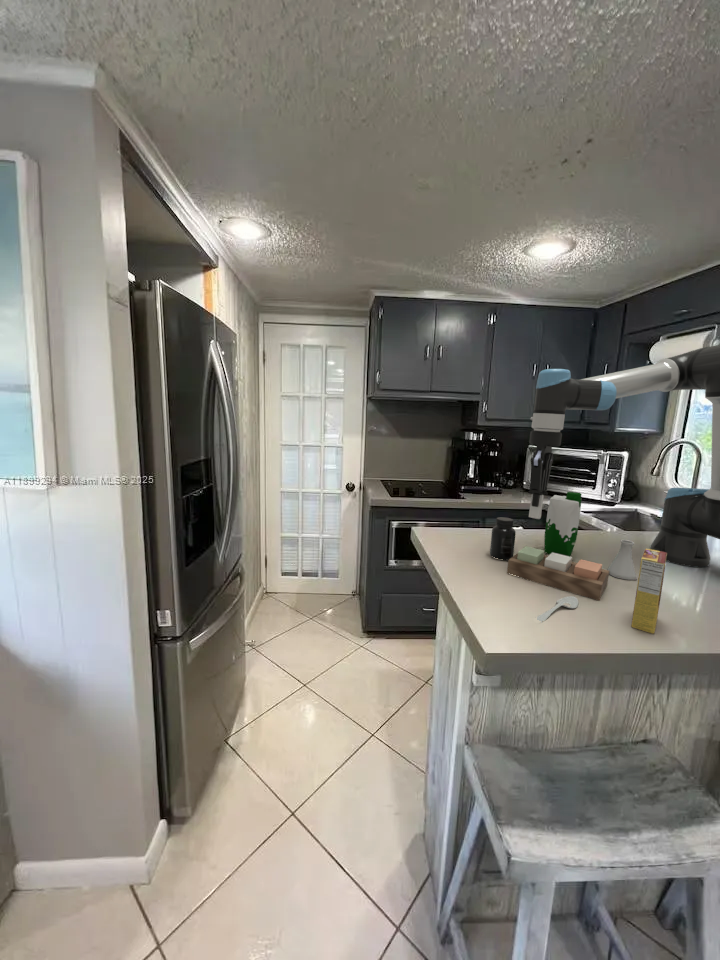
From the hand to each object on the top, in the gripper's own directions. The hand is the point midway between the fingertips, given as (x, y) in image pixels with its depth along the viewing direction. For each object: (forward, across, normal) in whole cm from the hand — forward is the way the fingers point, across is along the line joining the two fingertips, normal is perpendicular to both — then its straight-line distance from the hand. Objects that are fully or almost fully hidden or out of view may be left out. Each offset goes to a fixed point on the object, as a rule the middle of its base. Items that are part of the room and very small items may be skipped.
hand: (534, 517), depth 107 cm
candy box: (+16, +11, +27) cm, 33 cm away
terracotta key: (+14, 0, +14) cm, 20 cm away
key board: (+16, 0, +7) cm, 17 cm away
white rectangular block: (+14, 0, +7) cm, 15 cm away
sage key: (+14, 0, 0) cm, 14 cm away
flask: (+16, -17, +20) cm, 31 cm away
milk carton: (+16, -24, +2) cm, 29 cm away
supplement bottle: (+16, -6, -10) cm, 20 cm away
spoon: (+16, +20, +11) cm, 28 cm away
